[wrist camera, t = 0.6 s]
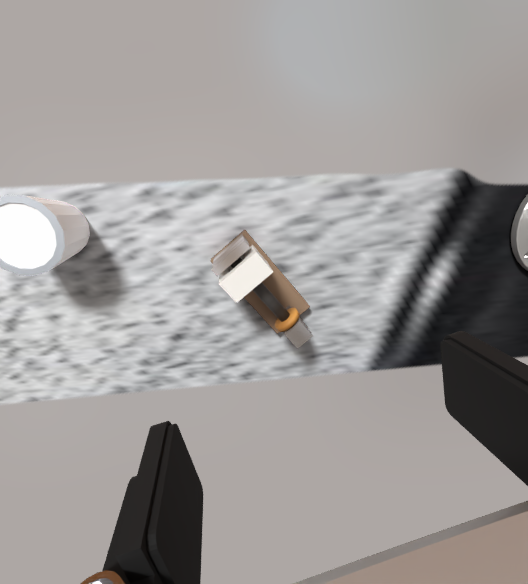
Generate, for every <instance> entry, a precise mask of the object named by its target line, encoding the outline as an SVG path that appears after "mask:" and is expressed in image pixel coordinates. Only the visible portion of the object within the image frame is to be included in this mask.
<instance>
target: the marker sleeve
mask: <svg viewBox="0 0 528 584" xmlns="http://www.w3.org/2000/svg"><path fill="white" fill-rule="evenodd" d="M240 258H241V259H242V260H243V261H242V262H240V263H239V264H238V265H237V266H236V267H235V268H232V267H231V266H229V267H228V268H226V269H225V270H224V271H223V272H222V273H221V274H220V277H219V285H220V286H221V287H222V288H223V289H224V290H225V291H226V292H227V293H228V294H229V296H230V297H231V298H232V299H233V300H234V301H235V302H236V303H237V302H239V301H240V300H241V299H242V298H243V297H244V296H246V295H247V294H248V293H249V292H250V291H252V290H253V289H254V288H255V287H256V286H257V285H259V284H260V283H261V282H262V281H263V280H265V279H266V278H267V277H268V276H269V275H271V274H272V273H273V270H272V269H271V267H270V265H269V264H268V262H267V261H266V260H265V259H264V257H263V256H262V255H261V254H260V253H259V252H258V250H257V249H256V248H255V247H254V246H253V245H252V246H251V247H250V249H249V250H247V251H246V252H245V253H244V254H243V255H242V256H240Z"/></svg>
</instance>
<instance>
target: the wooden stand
mask: <svg viewBox="0 0 528 584" xmlns="http://www.w3.org/2000/svg"><path fill="white" fill-rule="evenodd" d="M252 245H253V246H254V247H255V248H256V249H257V250H258V252H259V253H260V254H261V255H262V256H263V257H264V259H265V260H266V261H267V262H268V264H269V265H270V267H271V269H272V270H273V273H272V274H271V275H269V276H268V277H267V278H266V279H265V280H263V281H262V282H261V283H260V284H259V285H257V286H256V287H255V288H254V289H253V290H252V291H250V292H249V293H248V294H247V295H246V296H244V298H245V299H246V300H247V301H248V302H249V304H250V305H251V306H252V307H253V308H254V309H255V310H256V311H257V312H258V313H259V314H260V315H261V317H262V318H263V319H264V320H265V321H266V322H267V323H268V324H269V325H270V326H271V327H272V328H273V330H274V331H275V332H276V333H279V332H283V331H284V334H285V336H286V337H287V338H288V339H289V340H290V341H291V342H292V343H293V344H294V345H295V346H296V348H297V349H298V348H299V347H300V346H301V345H303V344H304V343H305V342H306V341H308V340H309V339H310V338H311V337H313V335H312V334H311V332H310V330H309V329H308V327H307V325H306V324H305V323H304V322H303V321H302V319H301V318H300V315H301V314H302V313H303V312H304V311H306V310H307V309H308V308H309V307H310V306H309V305H308V303H307V302H306V301H305V300H304V298H303V297H302V296H301V295H300V294H299V293H298V291H297V290H296V289H295V288H294V287H293V286H292V284H291V283H290V282H289V281H288V280H287V278H286V277H285V276H284V275H283V274H282V273H281V271H280V270H279V269H278V268H277V267H276V266H275V264H274V263H273V262H272V261H271V260H270V258H269V257H268V256H267V255H266V254H265V253H264V251H263V250H262V249H261V248H260V247H259V246H258V244H257V243H256V242H255V241H254V240H253V238H252V237H251V236H250V235H249V234H248V233H247V231H246V230H244V231H242V232H241V233H240V234H239V235H238V236H237V237H236V238H234V239H233V240H232V241H231V242H230V243H229V244H228V245H226V246H225V247H224V248H223V249H222V250H221V251H219V252H218V253H217V254H216V255H215V256H214V257H213V258H211V262H212V264H213V265H212V271H213V272H214V273H215V274H216V275H217V276H218V275H220V274H221V273H222V272H223V271H224V270H225V269H226V268H228V267H229V266H231V267H232V268H235V267H236V266H237V265H238V264H239V263H240V262H242V261H243V260H242V259H241V258H240V256H242V255H243V254H244V253H245V252H246V251H247V250H249V249H250V247H251V246H252Z"/></svg>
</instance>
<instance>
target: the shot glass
mask: <svg viewBox="0 0 528 584" xmlns="http://www.w3.org/2000/svg"><path fill="white" fill-rule="evenodd" d="M89 237H90V230H89V224H88V222H87V220H86V218H85V216H84V214H83V213H82V212H81V211H79V210H78V209H77V208H76V207H75V206H73V205H71V204H68V203H66V202H63V201H57V200H50V199H44V198H37V197H31V196H24V195H4V196H1V197H0V267H1V268H2V269H4V270H7V271H9V272H12V273H15V274H17V275H27V276H36V275H39V274H42V273H45V272H47V271H50V270H52V269H53V268H55V267H56V266H58V265H60V264H61V263H63V262H64V261H66V260H67V259H69V258H70V257H72V256H74V255H75V254H77V253H78V252H80V251H81V250H82V249H83V248H84V247H85V246H86V245H87V242H88V239H89Z"/></svg>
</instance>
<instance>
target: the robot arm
mask: <svg viewBox="0 0 528 584" xmlns="http://www.w3.org/2000/svg"><path fill="white" fill-rule="evenodd" d="M511 246H512V250H513V253H514V256H515V258H516V260H517V261H518V262H519V264H520V265H521V266H522V267H523V268H525V269H526V270H527V271H528V194H527V196H526V197H525V199H524V200H523V202H522V203H521V204H520V206H519V208H518V210H517V212H516V215H515V218H514V221H513V224H512V230H511ZM441 358H442V371H443V382H444V395H445V405H446V408H447V410H448V412H449V413H450V415H451V416H452V417H453V418H454V419H456V420H457V421H458V422H459V423H460V424H461V425H462V426H463V427H464V428H465V429H466V430H467V431H469V432H470V433H471V434H472V435H473V436H474V437H475V438H476V439H477V440H478V441H479V442H480V443H482V444H483V445H484V446H485V447H486V448H487V449H488V450H489V451H490V452H491V453H493V454H494V455H495V456H496V457H497V458H498V459H499V460H500V461H501V462H503V464H504V465H506V466H507V467H508V468H509V469H510V470H511V471H512V472H513V473H514V474H515V475H516V476H517V477H519V478H520V479H521V480H522V481H523V482H524V483H525V484H526V485H527V486H528V365H526V364H524V363H522V362H520V361H518V360H516V359H515V358H513V357H511V356H509V355H507V354H505V353H503V352H502V351H500V350H498V349H496V348H494V347H492V346H490V345H488V344H487V343H485V342H483V341H481V340H479V339H477V338H475V337H474V336H472V335H470V334H468V333H466V332H464V331H460V332H456V333H453V334H450V335H447V336H445V337H444V341H442V342H441ZM202 517H203V489H202V485H201V482H200V480H199V477H198V475H197V473H196V470H195V467H194V465H193V463H192V460H191V457H190V455H189V453H188V450H187V448H186V445H185V443H184V440H183V438H182V435H181V433H180V430H179V428H178V426H177V424H173V425H172V424H171V423H170V422H169V421H166V422H163V423H160V424H157V425H153V426H151V428H150V431H149V434H148V438H147V441H146V445H145V449H144V452H143V456H142V459H141V463H140V467H139V471H138V474H137V476H135V477H132V478H131V479H130V481H129V484H128V487H127V490H126V493H125V497H124V500H123V504H122V507H121V510H120V514H119V517H118V520H117V524H116V527H115V530H114V534H113V537H112V541H111V544H110V547H109V551H108V554H107V557H106V561H105V564H104V568H103V571H102V572H98V573H96V574H94V575H92V576H90V577H88V578H87V579H86V580H84V581H83V582H82V583H81V584H200V575H201V545H202ZM293 584H528V501H526V502H523V503H520V504H517V505H514V506H511V507H508V508H506V509H503V510H500V511H497V512H494V513H491V514H488V515H485V516H482V517H479V518H476V519H474V520H471V521H468V522H465V523H462V524H460V525H456V526H454V527H451V528H448V529H446V530H443V531H439V532H437V533H434V534H431V535H428V536H425V537H422V538H420V539H417V540H414V541H411V542H408V543H405V544H403V545H400V546H397V547H394V548H392V549H389V550H386V551H383V552H380V553H377V554H374V555H372V556H369V557H366V558H363V559H360V560H357V561H355V562H352V563H349V564H346V565H343V566H341V567H338V568H335V569H333V570H330V571H327V572H324V573H321V574H319V575H316V576H313V577H310V578H307V579H305V580H302V581H299V582H296V583H293Z"/></svg>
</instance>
